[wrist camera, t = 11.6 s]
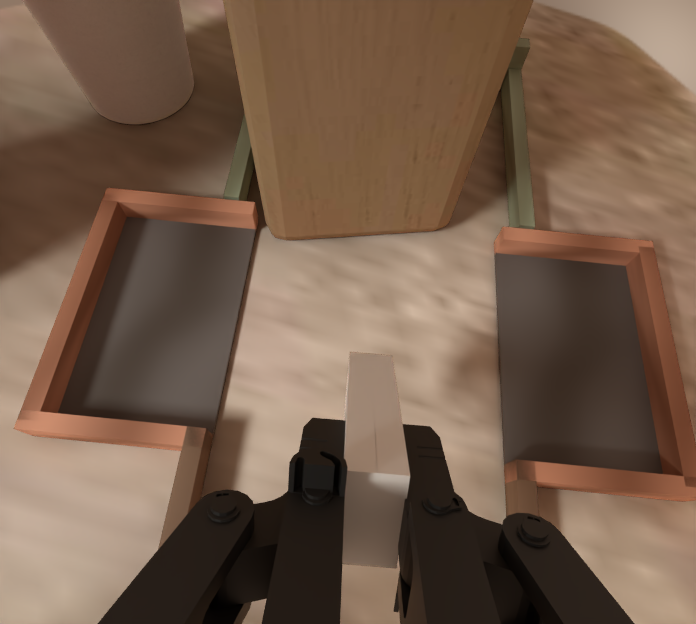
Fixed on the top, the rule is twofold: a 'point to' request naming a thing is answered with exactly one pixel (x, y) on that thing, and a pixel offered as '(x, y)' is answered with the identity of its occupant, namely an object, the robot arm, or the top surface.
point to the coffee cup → (122, 54)
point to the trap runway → (513, 334)
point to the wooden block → (367, 106)
